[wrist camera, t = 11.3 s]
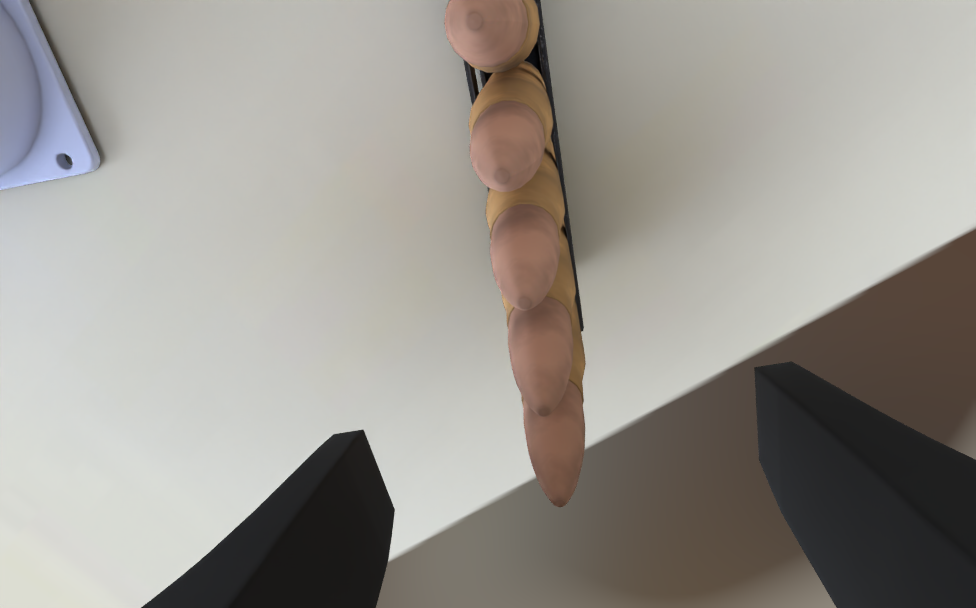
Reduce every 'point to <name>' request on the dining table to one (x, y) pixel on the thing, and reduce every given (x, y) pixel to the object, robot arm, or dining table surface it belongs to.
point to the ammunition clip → (527, 225)
